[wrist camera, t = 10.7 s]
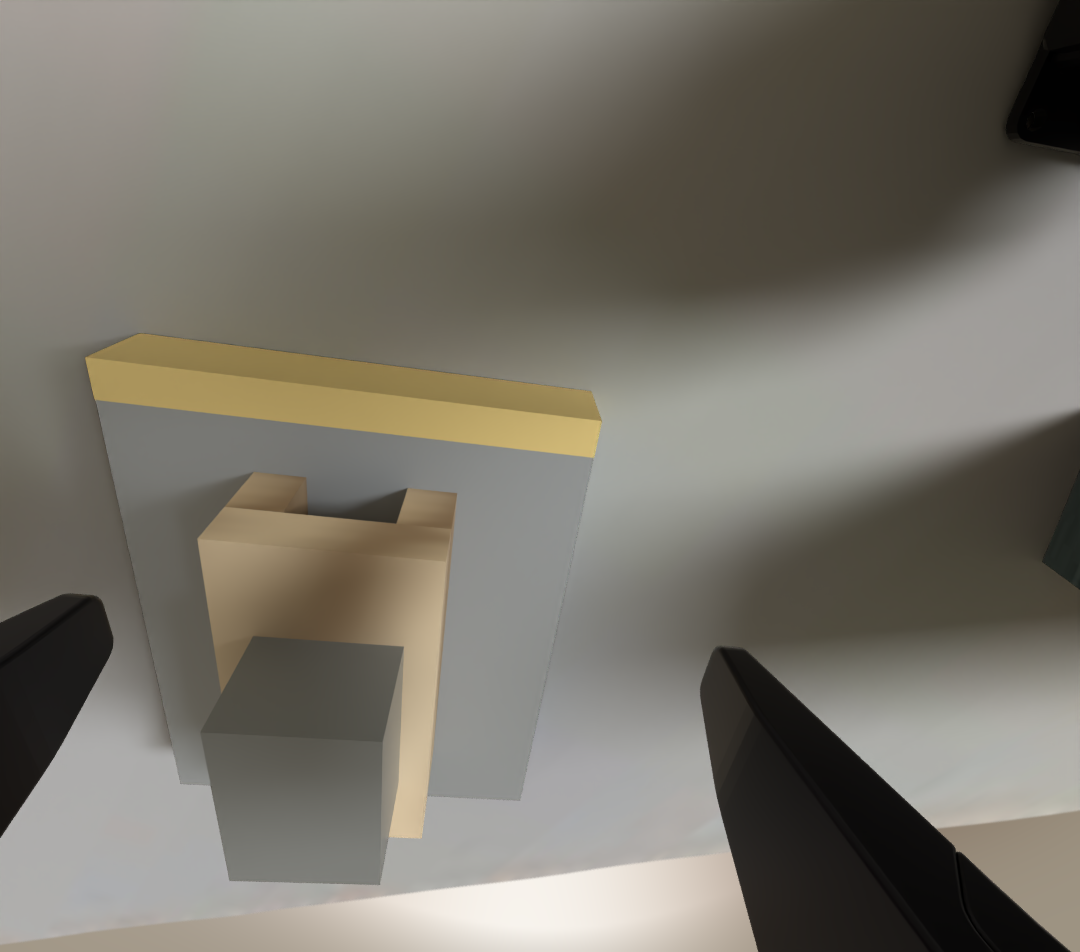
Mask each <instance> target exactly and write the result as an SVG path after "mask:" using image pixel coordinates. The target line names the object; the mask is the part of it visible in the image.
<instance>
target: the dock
mask: <svg viewBox="0 0 1080 952" xmlns="http://www.w3.org/2000/svg"><path fill="white" fill-rule="evenodd" d="M85 360H86V364H87V369H88V373H89V378H90V382H91V387H92V391H93V396H94V400H96V405H97V409H98V414H99V418H100V423H101V427H102V432H103V436H104V441H105V445H106V450H107V454H108V459H109V463H110V468H111V472H112V477H113V481H114V486H115V490H116V495H117V499H118V504H119V508H120V513H121V517H122V522H123V526H124V531H125V535H126V540H127V544H128V549H129V553H130V558H131V563H132V567H133V572H134V576H135V581H136V585H137V590H138V594H139V599H140V603H141V608H142V612H143V617H144V621H145V626H146V630H147V635H148V639H149V644H150V648H151V653H152V657H153V662H154V666H155V671H156V675H157V680H158V684H159V689H160V693H161V698H162V702H163V707H164V711H165V716H166V720H167V725H168V730H169V734H170V739H171V743H172V748H173V752H174V757H175V761H176V766H177V770H178V775H179V779H180V784H190V785H210V780H209V775H208V770H207V765H206V759H205V754H204V749H203V744H202V739H201V734H200V732H201V730H202V728H203V726H204V724H205V723H206V721H207V719H208V717H209V715H210V714H211V712H212V710H213V708H214V706H215V704H216V703H217V701H218V699H219V697H220V695H221V689H220V682H219V676H218V669H217V663H216V656H215V650H214V644H213V637H212V631H211V624H210V618H209V611H208V605H207V598H206V592H205V585H204V579H203V573H202V566H201V560H200V553H199V547H198V540H197V539H198V537H199V536H200V535H201V534H202V533H203V532H204V530H205V529H206V528H207V527H208V526H209V524H210V523H211V522H212V521H213V520H214V519H215V517H216V516H217V515H218V514H219V513H220V511H221V510H222V509H223V508H224V507H225V506H226V504H227V503H228V502H229V501H230V500H231V499H232V497H233V496H234V495H235V494H236V493H237V491H238V490H239V489H240V488H241V487H242V486H243V484H244V483H245V482H246V481H247V480H248V478H249V477H250V476H251V475H252V474H253V473H254V472H260V473H270V474H279V475H289V476H298V477H306V481H307V502H308V515H313V516H323V517H333V518H343V519H354V520H364V521H374V522H384V523H394V524H396V523H397V520H398V517H399V514H400V511H401V508H402V505H403V502H404V499H405V496H406V492H407V489H408V488H412V489H422V490H431V491H441V492H451V493H457V502H456V513H455V524H454V534H453V545H452V556H451V566H450V577H449V588H448V599H447V609H446V620H445V631H444V641H443V652H442V663H441V674H440V684H439V695H438V706H437V716H436V727H435V738H434V749H433V756H432V764H431V771H430V779H429V786H428V794H427V796H435V797H455V798H476V799H496V800H517V801H520V798H521V794H522V789H523V784H524V780H525V775H526V770H527V766H528V761H529V756H530V752H531V747H532V742H533V738H534V733H535V728H536V724H537V719H538V715H539V710H540V705H541V701H542V696H543V691H544V687H545V682H546V677H547V673H548V668H549V663H550V659H551V654H552V649H553V645H554V640H555V636H556V631H557V626H558V622H559V617H560V612H561V608H562V603H563V598H564V594H565V589H566V584H567V580H568V575H569V570H570V566H571V561H572V557H573V552H574V547H575V543H576V538H577V533H578V529H579V524H580V519H581V515H582V510H583V505H584V501H585V496H586V491H587V487H588V482H589V478H590V473H591V468H592V464H593V459H594V456H595V451H596V446H597V442H598V437H599V432H600V428H601V423H602V420H601V417H600V415H599V412H598V409H597V406H596V403H595V401H594V398H593V395H592V392H591V391H584V390H576V389H568V388H561V387H553V386H545V385H537V384H530V383H522V382H514V381H506V380H499V379H491V378H483V377H475V376H468V375H460V374H452V373H444V372H437V371H429V370H421V369H413V368H406V367H398V366H390V365H382V364H375V363H367V362H359V361H351V360H344V359H336V358H328V357H320V356H313V355H305V354H297V353H289V352H282V351H274V350H266V349H258V348H251V347H243V346H235V345H228V344H220V343H212V342H204V341H197V340H189V339H181V338H173V337H166V336H158V335H150V334H142V333H139V334H137V335H134V336H132V337H130V338H128V339H125V340H123V341H121V342H119V343H116V344H114V345H112V346H109V347H107V348H105V349H103V350H100V351H98V352H96V353H94V354H91V355H89V356H87V357H85ZM210 786H211V785H210Z"/></svg>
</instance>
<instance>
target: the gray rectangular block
mask: <svg viewBox="0 0 1080 952" xmlns="http://www.w3.org/2000/svg"><path fill="white" fill-rule="evenodd" d="M403 660H404V647H403V646H389V645H374V644H360V643H346V642H331V641H317V640H303V639H289V638H274V637H260V636H253V637H252V639H251V641H250V643H249V645H248V646H247V648H246V650H245V652H244V654H243V656H242V657H241V659H240V661H239V663H238V665H237V666H236V668H235V670H234V672H233V674H232V675H231V677H230V679H229V681H228V683H227V685H226V686H225V688H224V690H223V692H222V694H221V695H220V697H219V699H218V701H217V703H216V704H215V706H214V708H213V710H212V712H211V714H210V715H209V717H208V719H207V721H206V723H205V724H204V726H203V728H202V730H201V732H200V734H201V739H202V744H203V749H204V754H205V759H206V765H207V770H208V775H209V780H210V785H211V790H212V795H213V800H214V805H215V810H216V815H217V820H218V825H219V830H220V835H221V840H222V845H223V850H224V855H225V860H226V865H227V870H228V875H229V880H230V881H256V882H293V883H330V884H367V885H380V881H381V876H382V871H383V865H384V860H385V854H386V849H387V843H388V838H389V832H390V827H391V821H392V816H393V810H394V805H395V799H396V794H397V789H398V782H399V758H400V733H401V709H402V684H403Z"/></svg>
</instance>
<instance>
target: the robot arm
mask: <svg viewBox="0 0 1080 952" xmlns="http://www.w3.org/2000/svg"><path fill="white" fill-rule="evenodd" d="M1032 112H1034V116H1035V118H1034V122H1033V124H1032V125H1031V127H1030V128H1029V129H1028V128H1027V125H1026V123H1027V119H1028V117H1029V116H1030V114H1031V113H1032ZM1006 134H1007V136H1008V138H1009V139H1010V140H1012V141H1014V142H1017V143H1022V144H1028V145H1033V146H1038V147H1043V148H1048V149H1053V150H1059V151H1064V152H1069V153H1074V154H1079V155H1080V0H1060V1H1059V4H1058V6H1057V8H1056V10H1055V13H1054V15H1053V17H1052V19H1051V22H1050V24H1049V26H1048V28H1047V30H1046V33H1045V35H1044V39H1043V42H1042V44H1041V46H1040V48H1039V50H1038V53H1037V55H1036V57H1035V59H1034V62H1033V64H1032V66H1031V68H1030V70H1029V73H1028V75H1027V77H1026V79H1025V82H1024V84H1023V86H1022V88H1021V90H1020V93H1019V95H1018V97H1017V99H1016V102H1015V104H1014V106H1013V108H1012V110H1011V113H1010V115H1009V117H1008V120H1007V124H1006ZM112 648H113V635H112V631H111V628H110V625H109V622H108V618H107V615H106V612H105V609H104V605H103V603H102V601H101V600H100V599H99V598H98V597H97V596H94V595H84V594H71V593H70V594H63V595H60V596H57V597H55V598H53V599H51V600H49V601H46V602H44V603H42V604H40V605H38V606H36V607H33V608H31V609H29V610H27V611H25V612H23V613H20V614H18V615H16V616H14V617H12V618H10V619H7V620H5V621H3V622H1V623H0V838H1V836H2V835H3V833H4V832H5V830H6V829H7V827H8V826H9V824H10V823H11V821H12V820H13V818H14V817H15V815H16V814H17V812H18V811H19V809H20V808H21V807H22V805H23V804H24V802H25V801H26V799H27V798H28V796H29V795H30V793H31V792H32V790H33V789H34V787H35V786H36V784H37V783H38V781H39V780H40V778H41V777H42V775H43V774H44V772H45V771H46V769H47V768H48V766H49V764H50V763H51V761H52V760H53V758H54V757H55V755H56V753H57V751H58V750H59V748H60V746H61V745H62V743H63V741H64V739H65V738H66V736H67V734H68V732H69V730H70V728H71V726H72V725H73V723H74V721H75V719H76V717H77V715H78V714H79V712H80V710H81V708H82V706H83V704H84V703H85V701H86V699H87V697H88V695H89V693H90V691H91V690H92V688H93V686H94V684H95V682H96V680H97V679H98V677H99V675H100V673H101V671H102V669H103V667H104V666H105V664H106V662H107V660H108V658H109V656H110V654H111V651H112ZM700 697H701V704H702V710H703V717H704V723H705V729H706V735H707V741H708V748H709V754H710V760H711V766H712V772H713V779H714V784H715V790H716V795H717V799H718V804H719V808H720V812H721V816H722V819H723V823H724V827H725V831H726V834H727V838H728V842H729V845H730V849H731V853H732V856H733V860H734V864H735V867H736V871H737V875H738V878H739V882H740V886H741V890H742V893H743V897H744V901H745V904H746V908H747V912H748V916H749V919H750V923H751V927H752V930H753V934H754V937H755V941H756V945H757V949H758V952H1071V951H1070V950H1068V949H1067V948H1066V947H1065V946H1064V945H1063V944H1061V943H1060V942H1059V941H1058V940H1057V939H1056V938H1055V937H1053V936H1052V935H1051V934H1050V933H1049V932H1048V931H1046V930H1045V929H1044V928H1043V927H1042V926H1041V925H1040V924H1038V923H1037V922H1036V921H1035V920H1034V919H1033V918H1032V917H1031V916H1030V915H1028V914H1027V913H1026V912H1025V911H1024V910H1023V909H1022V908H1021V907H1020V906H1019V905H1017V904H1016V903H1015V902H1014V901H1013V900H1012V899H1011V898H1010V897H1009V896H1008V895H1007V894H1005V893H1004V892H1003V891H1002V890H1001V889H1000V888H999V887H998V886H997V885H996V884H995V883H993V882H992V881H991V880H990V879H989V878H988V877H987V876H986V875H985V874H984V873H983V872H982V871H981V870H979V869H978V868H977V867H976V866H975V865H974V864H973V863H972V862H971V861H970V860H969V859H968V858H967V857H966V856H965V855H963V854H962V853H961V852H956V849H955V847H954V845H953V844H952V843H951V842H949V841H948V840H947V839H946V838H945V837H944V836H943V835H942V834H941V833H940V832H939V831H938V830H937V829H936V828H935V827H934V826H932V825H931V824H930V823H929V822H928V821H927V820H926V819H925V818H924V817H923V816H922V815H921V814H920V813H919V812H918V811H917V810H915V809H914V808H913V807H912V806H911V805H910V804H909V803H908V802H907V801H906V800H905V799H904V798H903V797H902V796H901V795H899V794H898V793H897V792H896V791H895V790H894V789H893V788H892V787H891V786H890V785H889V784H888V783H887V782H886V781H885V780H884V779H882V778H881V777H880V776H879V775H878V774H877V773H876V772H875V771H874V770H873V769H872V768H871V767H870V766H869V765H868V764H867V763H865V762H864V761H863V760H862V759H861V758H860V757H859V756H858V755H857V754H856V753H855V752H854V751H853V750H852V749H851V748H849V747H848V746H847V745H846V744H845V743H844V742H843V741H842V740H841V739H840V738H839V737H838V736H837V735H836V734H835V733H834V732H832V731H831V730H830V729H829V728H828V727H827V726H826V725H825V724H824V723H823V722H822V721H821V720H820V719H819V718H818V717H817V716H815V715H814V714H813V713H812V712H811V711H810V710H809V709H808V708H807V707H806V706H805V705H804V704H803V703H802V702H801V701H800V700H798V699H797V698H796V697H795V696H794V695H793V694H792V693H791V692H790V691H789V690H788V689H787V688H786V687H785V686H784V685H782V684H781V683H780V682H779V681H778V680H777V679H776V678H775V677H774V676H773V675H772V674H771V673H770V672H769V671H768V670H767V669H765V668H764V667H763V666H762V665H761V664H760V663H759V662H758V661H757V660H756V659H755V658H754V657H753V656H752V655H751V654H750V653H748V652H747V651H746V650H745V649H743V648H740V647H730V646H718V647H716V648H715V649H714V651H713V652H712V655H711V658H710V660H709V663H708V666H707V668H706V671H705V674H704V676H703V679H702V682H701V687H700Z"/></svg>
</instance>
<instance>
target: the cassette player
mask: <svg viewBox="0 0 1080 952" xmlns="http://www.w3.org/2000/svg"><path fill="white" fill-rule="evenodd" d="M1042 562H1043V563H1045V564H1046V565H1047V566H1049V567H1050V568H1052V569H1053V570H1054V571H1056V572H1057V573H1058V574H1060V575H1061V576H1062V577H1064V578H1065V579H1066V580H1068V581H1069V582H1071V583H1072V584H1073V585H1075V586H1076V587H1077V588H1079V589H1080V471H1079V474H1078V476H1077V479H1076V481H1075V483H1074V486H1073V488H1072V491H1071V493H1070V496H1069V498H1068V500H1067V503H1066V505H1065V508H1064V510H1063V512H1062V515H1061V517H1060V520H1059V522H1058V525H1057V527H1056V529H1055V532H1054V534H1053V537H1052V539H1051V542H1050V544H1049V546H1048V549H1047V551H1046V554H1045V556H1044V559H1043V561H1042Z"/></svg>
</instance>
